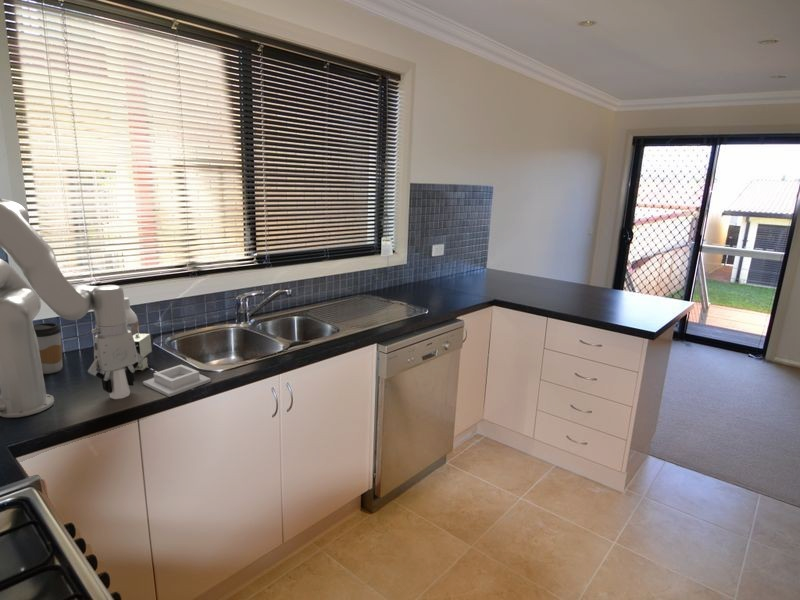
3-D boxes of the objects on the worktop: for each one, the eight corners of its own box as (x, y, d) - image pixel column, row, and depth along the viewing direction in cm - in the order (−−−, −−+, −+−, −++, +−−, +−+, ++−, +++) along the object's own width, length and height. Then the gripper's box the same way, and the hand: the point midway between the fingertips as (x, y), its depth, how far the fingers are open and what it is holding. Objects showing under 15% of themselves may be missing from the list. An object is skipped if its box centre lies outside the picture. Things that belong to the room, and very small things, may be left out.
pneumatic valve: (155, 361, 168) (152, 328, 165) (139, 375, 157) (135, 340, 154) (139, 361, 168) (136, 328, 165) (121, 375, 156) (117, 339, 153)
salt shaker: (133, 395, 143) (129, 360, 140) (112, 401, 139) (108, 365, 136) (127, 389, 147) (123, 355, 144) (107, 394, 143) (102, 359, 140)
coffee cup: (58, 363, 164) (51, 320, 160) (71, 368, 160) (65, 325, 156) (30, 371, 157) (22, 326, 153) (43, 377, 153) (36, 331, 149)
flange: (169, 396, 143) (168, 385, 142) (142, 384, 151) (141, 373, 150) (210, 381, 154) (210, 371, 153) (184, 370, 162) (183, 360, 161)
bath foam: (142, 353, 175) (136, 299, 170) (120, 356, 171) (114, 301, 166) (139, 347, 181) (134, 295, 176) (118, 350, 177) (112, 297, 172)
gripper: (86, 339, 129) (94, 402, 133) (149, 324, 143) (154, 381, 147) (72, 333, 133) (81, 394, 137) (135, 319, 147) (141, 375, 151)
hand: (119, 387), depth 142 cm, fingers open, 5 cm apart
